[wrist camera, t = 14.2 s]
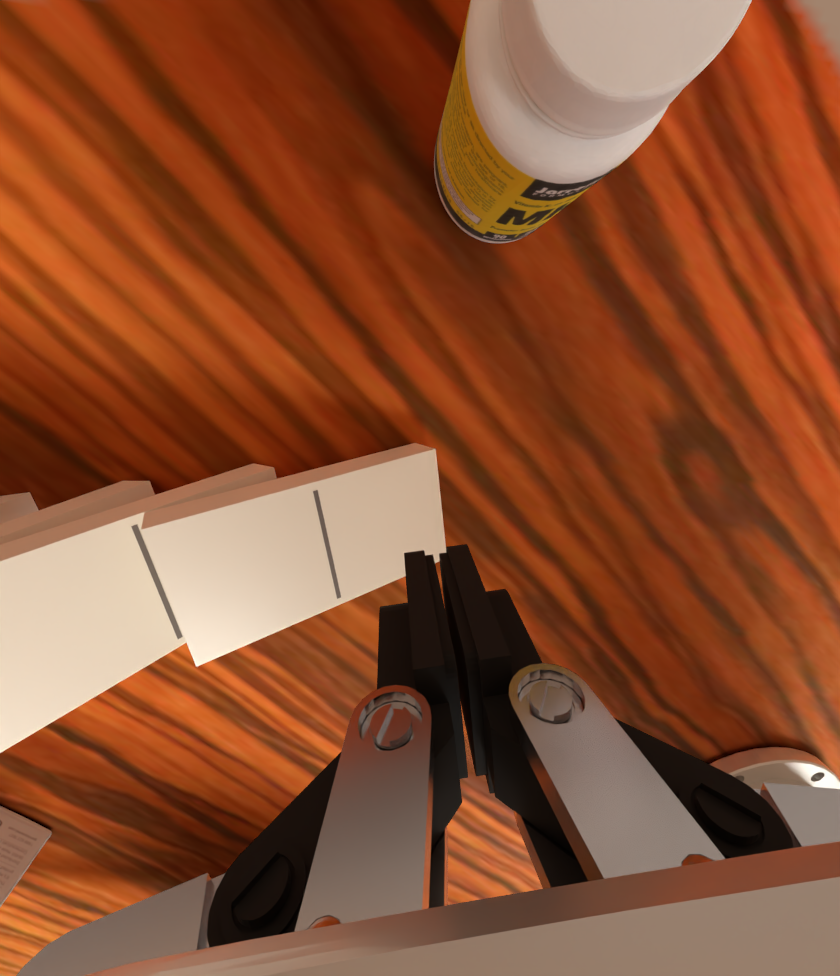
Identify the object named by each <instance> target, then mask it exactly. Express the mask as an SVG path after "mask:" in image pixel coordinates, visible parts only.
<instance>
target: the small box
mask: <svg viewBox="0 0 840 976" xmlns="http://www.w3.org/2000/svg"><path fill="white" fill-rule="evenodd" d="M51 834H52V831H50V830H49V829H47V828H45V827H43V826H41V825H39V824H37V823H35V822H33V821H31V820H29V819H27V818H25V817H23V816H21V815H19V814H17V813H14V812H12V811H10V810H8V809H6V808H4V807H2V806H0V907H1V905H2V904H3V902H4V901H5V900H6V898H7V897H8V895H9V894H10V893H11V891H12V890H13V889H14V887H15V886H16V884H17V883H18V881H19V880H20V878H21V877H22V876H23V874H24V873H25V871H26V870H27V868H28V867H29V866H30V864H31V863H32V861H33V860H34V858H35V857H36V856H37V854H38V853H39V851H40V850H41V848H42V847H43V846H44V844H45V843H46V841H47V840H48V839H49V837H50V836H51Z"/></svg>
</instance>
